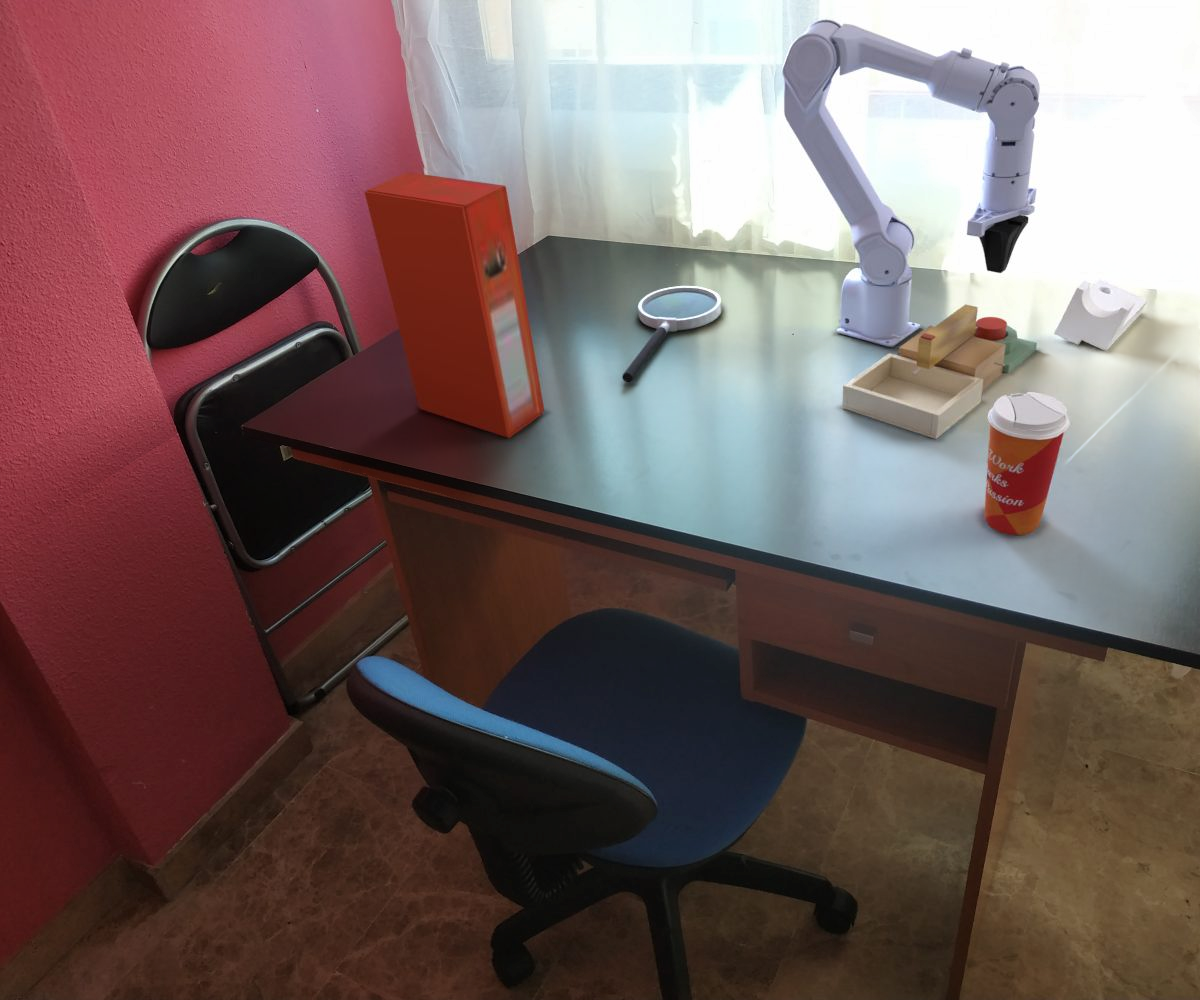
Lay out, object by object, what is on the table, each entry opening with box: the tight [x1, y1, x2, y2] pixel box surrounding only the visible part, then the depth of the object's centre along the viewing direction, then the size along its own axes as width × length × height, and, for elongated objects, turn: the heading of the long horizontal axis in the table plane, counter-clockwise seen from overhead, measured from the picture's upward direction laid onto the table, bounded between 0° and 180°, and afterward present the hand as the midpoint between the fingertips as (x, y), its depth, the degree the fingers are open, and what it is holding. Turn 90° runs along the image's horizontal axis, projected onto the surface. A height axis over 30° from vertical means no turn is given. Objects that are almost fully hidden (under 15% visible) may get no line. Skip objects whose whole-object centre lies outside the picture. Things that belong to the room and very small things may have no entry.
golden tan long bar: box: [917, 304, 979, 369], centre depth 129 cm, size 12×2×4 cm, turn 135°
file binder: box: [363, 171, 545, 439], centre depth 131 cm, size 8×17×32 cm, turn 52°
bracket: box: [1053, 278, 1149, 351], centre depth 138 cm, size 13×7×8 cm, turn 138°
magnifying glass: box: [622, 285, 722, 384], centre depth 153 cm, size 13×31×2 cm, turn 158°
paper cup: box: [984, 391, 1070, 536], centre depth 103 cm, size 8×8×14 cm
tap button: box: [975, 316, 1008, 341], centre depth 136 cm, size 4×4×2 cm
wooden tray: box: [841, 352, 983, 440], centre depth 128 cm, size 14×11×3 cm
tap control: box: [973, 325, 1038, 374], centre depth 137 cm, size 10×8×3 cm
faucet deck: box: [891, 325, 1006, 391], centre depth 132 cm, size 16×16×5 cm
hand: (996, 270), depth 135 cm, fingers closed
